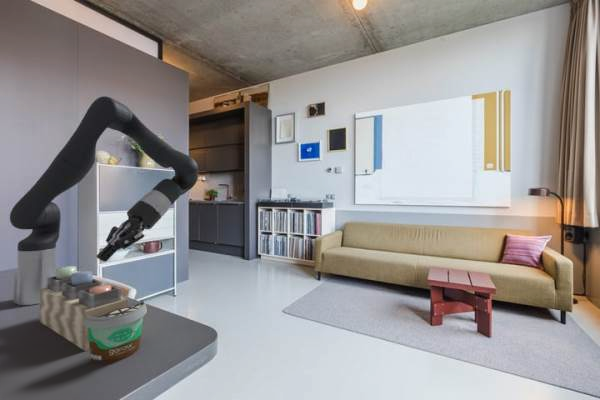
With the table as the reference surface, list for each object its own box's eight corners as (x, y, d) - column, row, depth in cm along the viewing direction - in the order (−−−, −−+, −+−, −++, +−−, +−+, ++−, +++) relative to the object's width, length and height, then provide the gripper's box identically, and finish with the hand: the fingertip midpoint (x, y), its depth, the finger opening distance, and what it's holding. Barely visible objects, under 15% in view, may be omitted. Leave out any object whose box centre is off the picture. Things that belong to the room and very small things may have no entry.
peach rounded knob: (85, 301, 67) (85, 288, 67) (105, 296, 70) (106, 284, 70) (94, 305, 64) (94, 292, 64) (114, 299, 68) (114, 287, 68)
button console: (39, 321, 76) (40, 278, 76) (78, 310, 84) (79, 271, 84) (85, 351, 61) (86, 298, 62) (127, 334, 69) (128, 287, 69)
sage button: (53, 279, 77) (53, 268, 77) (72, 276, 81) (72, 265, 81) (59, 282, 75) (59, 270, 75) (79, 278, 78) (79, 267, 78)
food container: (96, 374, 53) (96, 324, 53) (82, 364, 57) (83, 316, 57) (157, 346, 64) (157, 304, 64) (143, 339, 67) (143, 298, 67)
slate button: (68, 286, 72) (68, 273, 72) (88, 281, 76) (88, 270, 76) (75, 289, 70) (75, 276, 70) (95, 284, 73) (95, 272, 73)
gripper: (128, 199, 79) (75, 247, 68) (155, 200, 72) (101, 253, 62) (146, 216, 84) (99, 264, 73) (172, 219, 77) (125, 272, 66)
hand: (100, 259), depth 67 cm, fingers closed
